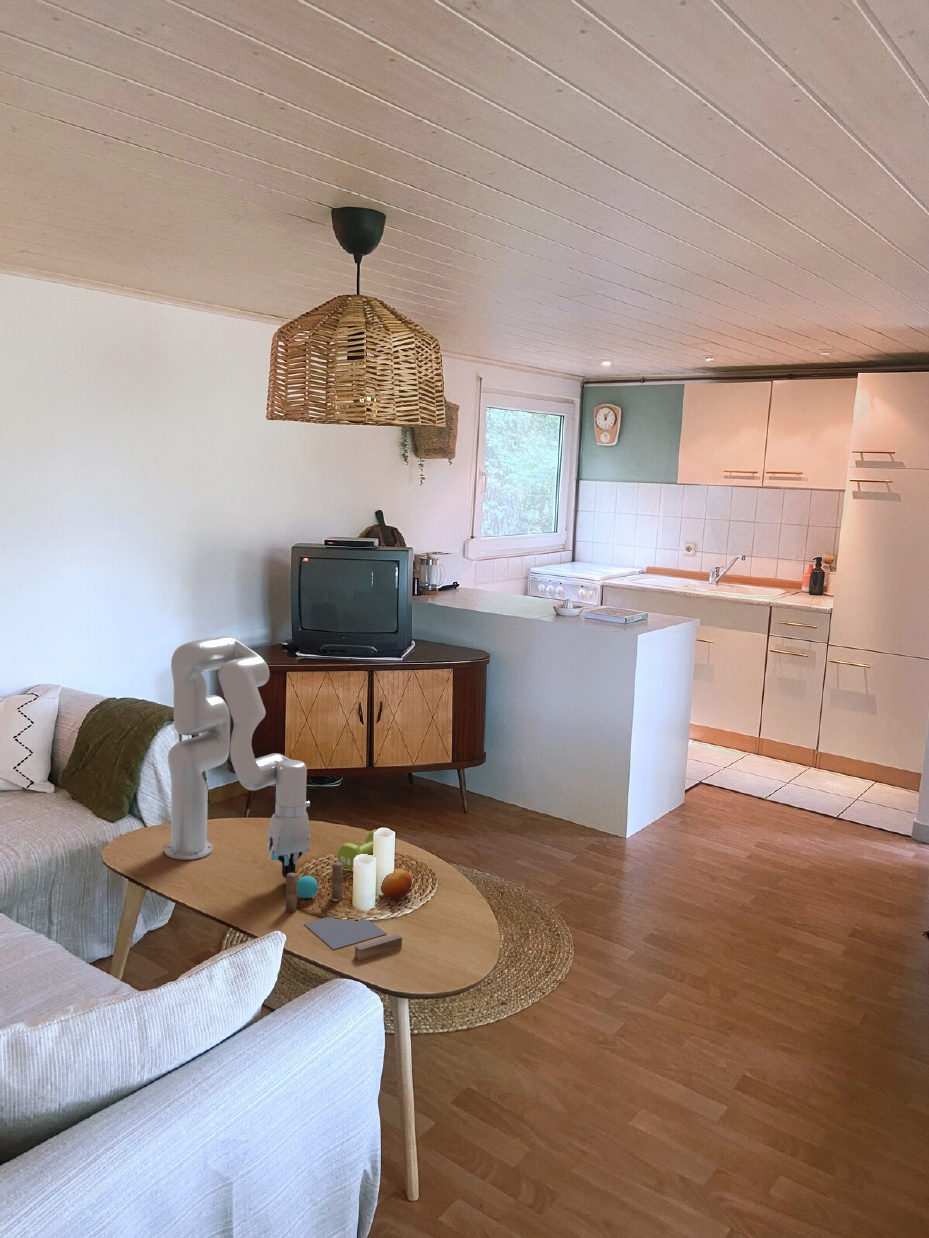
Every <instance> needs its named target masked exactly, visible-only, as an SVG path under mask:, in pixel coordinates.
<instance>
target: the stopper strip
mask: <svg viewBox="0 0 929 1238" xmlns="http://www.w3.org/2000/svg"><path fill="white" fill-rule="evenodd" d="M402 945H403V936H401V935H399V934H398V933H395V934H392V935H388V936H385V937H382V938H378V939H373V940H371V941H368V942H364V943H361V944H357V945H355V947H354V957H355V958H356V960H358V961H359V962H360V961H363V960H366V959H369V958H372V957H376V956H380V955H382V954H386V953H389V952H393V951H395V950H399V949H402Z"/></svg>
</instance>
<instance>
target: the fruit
mask: <svg viewBox="0 0 929 1238" xmlns="http://www.w3.org/2000/svg"><path fill="white" fill-rule="evenodd" d="M393 870H394V871H393V873H390V874H388V875H386V877H385V878H384V880H383V882H382V885H381V884H380V891H381V893H382V894H383V896H384V897H386V898H387V899H388V898H390V899H389V900H391V899H396V900H395V901H398V899H399V900H403V899H405V900H406V897H407V896H408V895H410V894H409V893H410V892H411V889H412V885H413V878H412V875H411V874H410V873H409V872H408V871H407V870H405V869H403V868H394V869H393Z"/></svg>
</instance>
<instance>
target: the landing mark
mask: <svg viewBox="0 0 929 1238" xmlns="http://www.w3.org/2000/svg"><path fill="white" fill-rule="evenodd" d="M329 917H330V916H327V917H323V918H320V919H317V920H313V921H309V922H305V923H304V924H303V925H304V926H305V927H306V928H307V929H308V930H310V931H311V932H312V933H313V934H314V935H315V936H317V937H318V938H319V939H320V940H321V941H323V942H324V943H325V944H326V945H327V946H328V947H329V948H330V949H332V950H339V949H342V948H345V947H348V946H352V945H356V944H359V943H361V942H366V941H369V940H372V939H373V940H374V939H375V938H380V937H383V936H386V935H387V932H385V931H384V930H383V929H381V928H380V927H378V925H376V924H375V923H373V922H372V921H370V919H368V920H358V921H355V920H341V919H334V918H329Z"/></svg>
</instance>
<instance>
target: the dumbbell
mask: <svg viewBox="0 0 929 1238" xmlns="http://www.w3.org/2000/svg"><path fill="white" fill-rule="evenodd" d="M377 830H378V829H373V830H371V831H370V832H369V833H368V834H367V836H366V838H365V840H364V844H362V845H359V846H358V845H357V844H354V843H352V842H346V843H344V844H342V845H341V846H340V848H339V849H338V851H337V853H336V859H337V862H339V863H343V868H344V869H350V870H351V872H350V873H353V872H352V867H353V858H354V857H355V856H356V855H359V854H369V855H370V856H372V855H373V833H374V832H376V831H377Z"/></svg>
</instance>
